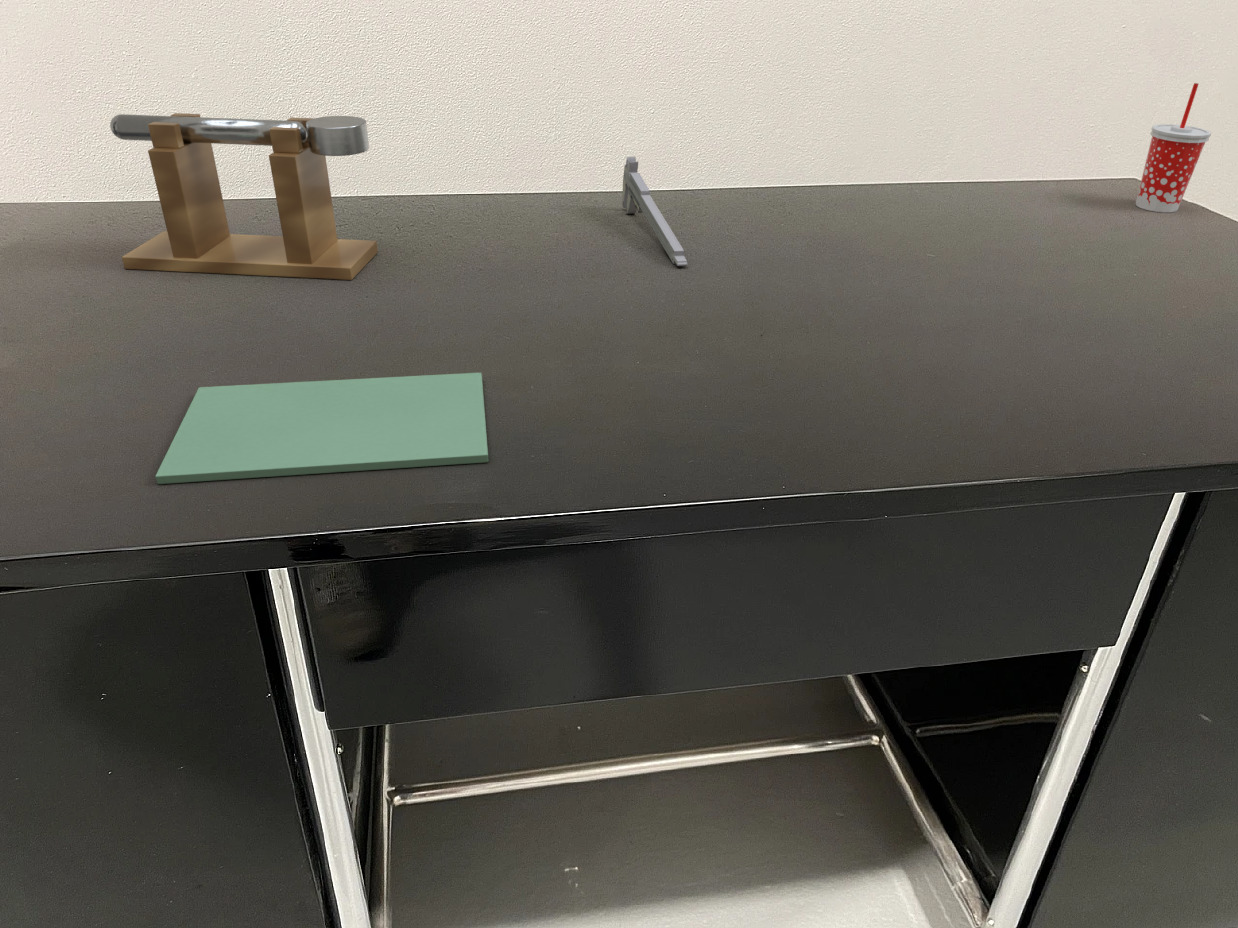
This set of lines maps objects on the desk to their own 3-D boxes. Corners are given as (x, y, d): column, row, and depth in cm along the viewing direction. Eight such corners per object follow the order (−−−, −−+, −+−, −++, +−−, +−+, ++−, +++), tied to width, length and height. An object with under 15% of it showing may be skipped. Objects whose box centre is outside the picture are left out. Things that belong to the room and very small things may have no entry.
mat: (157, 484, 57) (154, 476, 56) (200, 394, 67) (198, 387, 66) (488, 462, 59) (488, 454, 59) (482, 379, 69) (481, 372, 69)
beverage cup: (1182, 217, 109) (1225, 90, 101) (1125, 208, 112) (1163, 84, 104) (1186, 205, 113) (1228, 82, 106) (1131, 197, 116) (1168, 77, 109)
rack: (124, 269, 88) (85, 125, 81) (166, 242, 95) (133, 108, 88) (352, 280, 86) (331, 135, 80) (378, 252, 93) (361, 116, 86)
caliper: (621, 209, 107) (622, 153, 104) (630, 209, 108) (631, 153, 104) (677, 269, 91) (680, 204, 87) (688, 268, 91) (691, 204, 88)
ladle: (99, 146, 83) (92, 119, 82) (130, 134, 88) (124, 107, 86) (358, 157, 82) (355, 129, 81) (376, 144, 86) (373, 117, 85)
